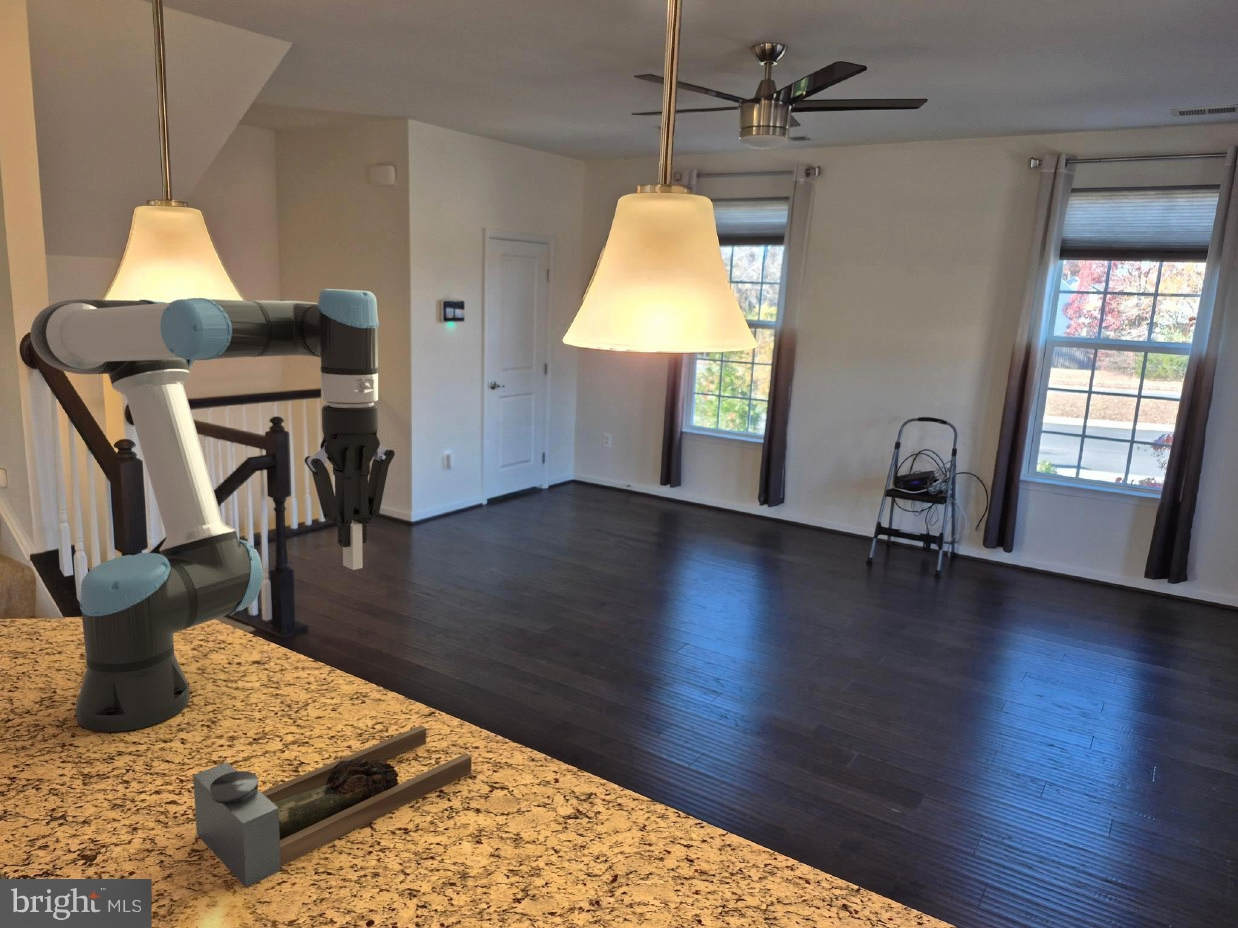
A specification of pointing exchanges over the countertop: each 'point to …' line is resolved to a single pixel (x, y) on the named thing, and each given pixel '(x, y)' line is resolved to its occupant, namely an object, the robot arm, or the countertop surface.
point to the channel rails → (371, 807)
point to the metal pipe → (335, 794)
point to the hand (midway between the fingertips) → (352, 566)
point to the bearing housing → (237, 822)
